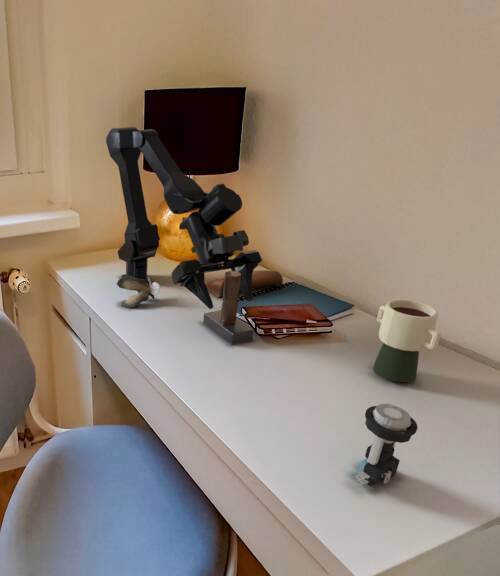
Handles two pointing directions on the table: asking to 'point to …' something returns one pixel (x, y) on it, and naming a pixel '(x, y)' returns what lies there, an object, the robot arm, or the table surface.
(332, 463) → the table surface
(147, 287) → the eagle figurine
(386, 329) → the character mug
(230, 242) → the robot arm
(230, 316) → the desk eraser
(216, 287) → the sunglasses case
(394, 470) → the push button
